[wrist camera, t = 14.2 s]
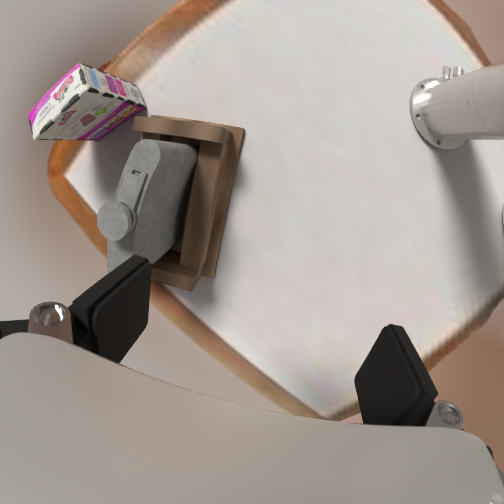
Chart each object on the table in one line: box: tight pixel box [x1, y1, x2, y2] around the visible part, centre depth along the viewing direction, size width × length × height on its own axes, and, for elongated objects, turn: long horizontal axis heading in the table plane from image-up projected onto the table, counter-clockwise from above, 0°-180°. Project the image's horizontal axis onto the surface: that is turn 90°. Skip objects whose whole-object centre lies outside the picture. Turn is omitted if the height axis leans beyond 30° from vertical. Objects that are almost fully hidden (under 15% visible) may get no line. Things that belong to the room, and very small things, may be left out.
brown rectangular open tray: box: [132, 115, 245, 291], centre depth 39 cm, size 15×24×9 cm, turn 167°
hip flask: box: [97, 139, 200, 273], centre depth 33 cm, size 16×4×20 cm, turn 161°
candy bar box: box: [27, 63, 146, 141], centre depth 32 cm, size 11×5×16 cm, turn 115°
